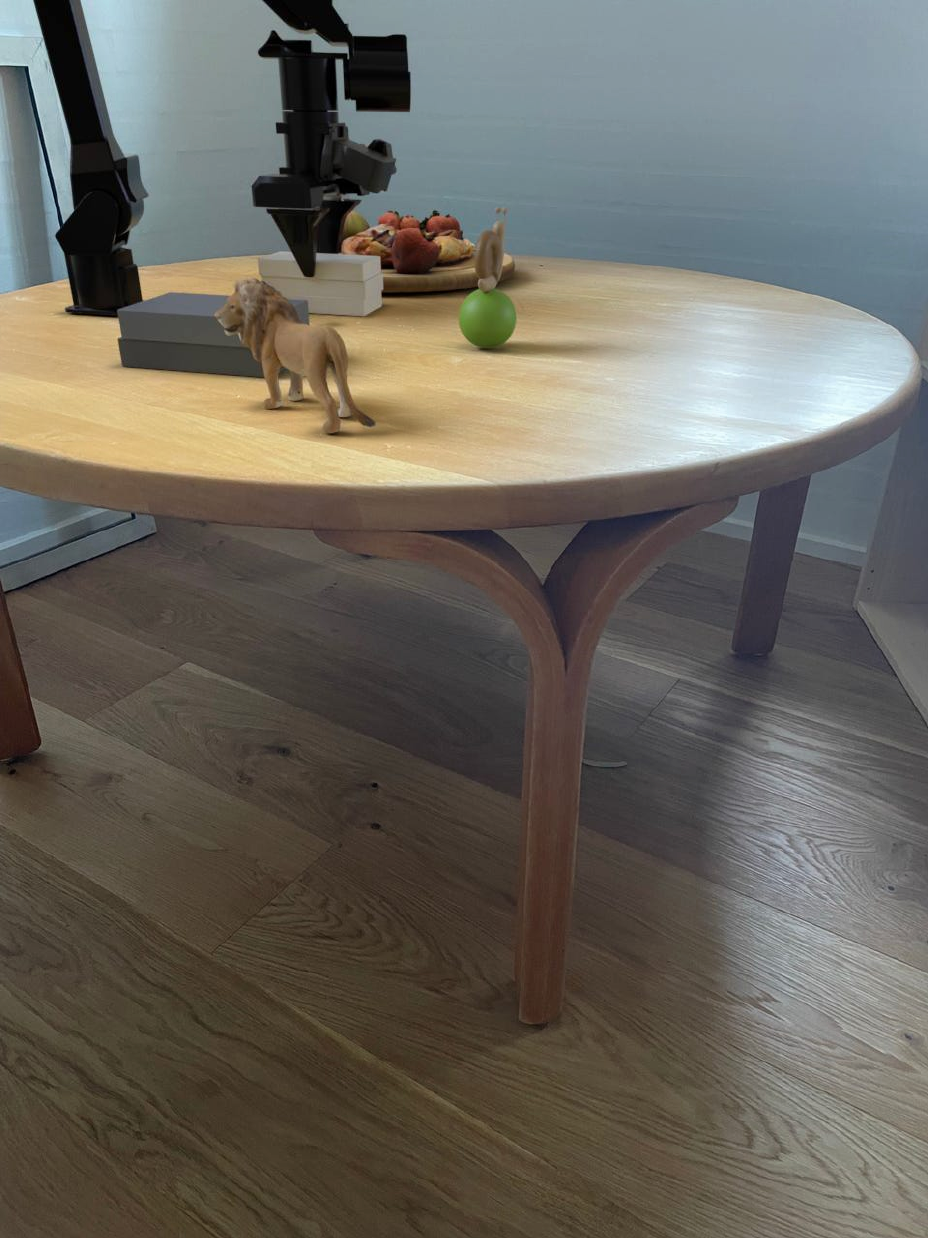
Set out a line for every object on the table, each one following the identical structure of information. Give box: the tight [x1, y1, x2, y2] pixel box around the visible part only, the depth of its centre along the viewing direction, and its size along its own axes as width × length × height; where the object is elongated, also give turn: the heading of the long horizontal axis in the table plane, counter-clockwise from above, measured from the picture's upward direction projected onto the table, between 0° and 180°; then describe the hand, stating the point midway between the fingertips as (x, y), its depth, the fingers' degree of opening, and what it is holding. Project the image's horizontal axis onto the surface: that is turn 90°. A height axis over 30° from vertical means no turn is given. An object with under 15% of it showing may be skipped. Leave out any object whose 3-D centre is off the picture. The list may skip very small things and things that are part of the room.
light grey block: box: [260, 273, 383, 317], centre depth 103 cm, size 12×6×4 cm, turn 76°
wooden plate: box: [316, 209, 516, 293], centre depth 122 cm, size 32×32×8 cm
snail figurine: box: [458, 206, 518, 349], centre depth 85 cm, size 5×6×12 cm
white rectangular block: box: [257, 250, 381, 282], centre depth 101 cm, size 12×6×2 cm, turn 76°
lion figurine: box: [215, 277, 376, 434], centre depth 66 cm, size 15×5×9 cm, turn 50°
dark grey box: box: [117, 291, 311, 379], centre depth 81 cm, size 14×9×5 cm, turn 76°
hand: (320, 272), depth 102 cm, fingers closed on white rectangular block, 6 cm apart
